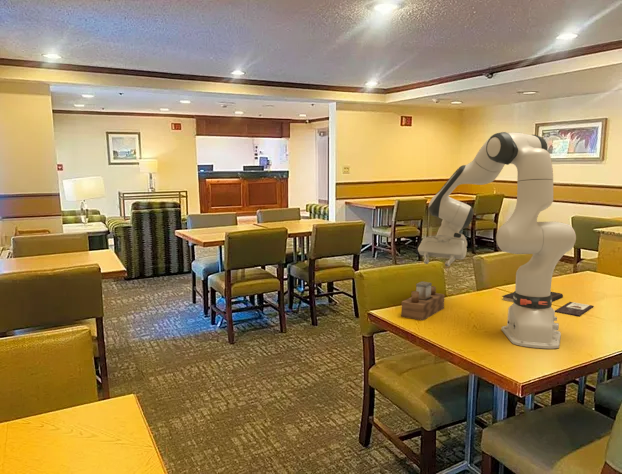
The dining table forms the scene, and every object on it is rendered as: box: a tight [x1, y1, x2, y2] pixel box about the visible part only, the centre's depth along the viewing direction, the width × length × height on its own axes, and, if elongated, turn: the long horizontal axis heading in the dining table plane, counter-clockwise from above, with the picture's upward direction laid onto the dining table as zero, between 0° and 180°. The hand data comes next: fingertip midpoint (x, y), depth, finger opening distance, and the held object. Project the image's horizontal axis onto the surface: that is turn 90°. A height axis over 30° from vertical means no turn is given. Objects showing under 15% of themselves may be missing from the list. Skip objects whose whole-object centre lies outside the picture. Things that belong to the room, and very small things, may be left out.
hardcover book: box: [501, 291, 564, 303], centre depth 208 cm, size 16×23×2 cm
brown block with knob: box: [401, 285, 445, 321], centre depth 190 cm, size 20×9×10 cm, turn 141°
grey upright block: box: [415, 281, 433, 301], centre depth 189 cm, size 5×4×9 cm
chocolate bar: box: [554, 301, 595, 318], centre depth 191 cm, size 9×1×18 cm
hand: (436, 264), depth 197 cm, fingers open, 8 cm apart
